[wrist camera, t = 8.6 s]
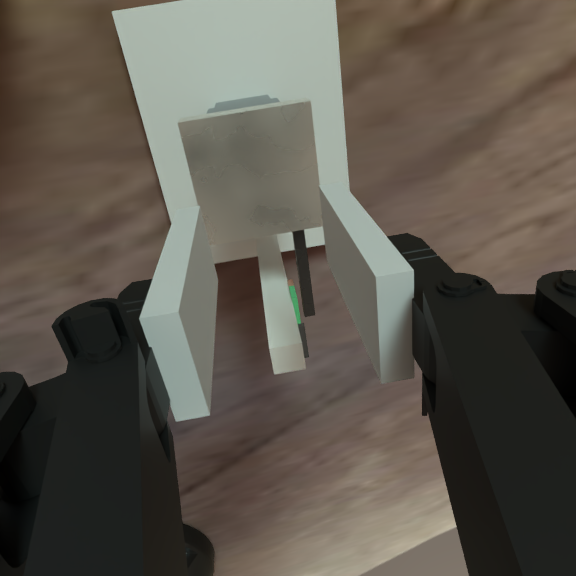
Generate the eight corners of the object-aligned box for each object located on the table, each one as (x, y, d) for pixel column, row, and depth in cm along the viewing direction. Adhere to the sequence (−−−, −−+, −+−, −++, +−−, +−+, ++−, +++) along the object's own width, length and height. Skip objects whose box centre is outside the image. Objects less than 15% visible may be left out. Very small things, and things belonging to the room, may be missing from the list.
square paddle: (230, 263, 34) (229, 334, 25) (193, 100, 28) (177, 122, 20) (308, 250, 34) (333, 316, 26) (287, 85, 28) (310, 100, 20)
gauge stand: (186, 258, 38) (154, 407, 22) (118, 13, 29) (-12, -26, 14) (347, 230, 39) (427, 357, 23) (327, -20, 30) (434, -93, 14)
